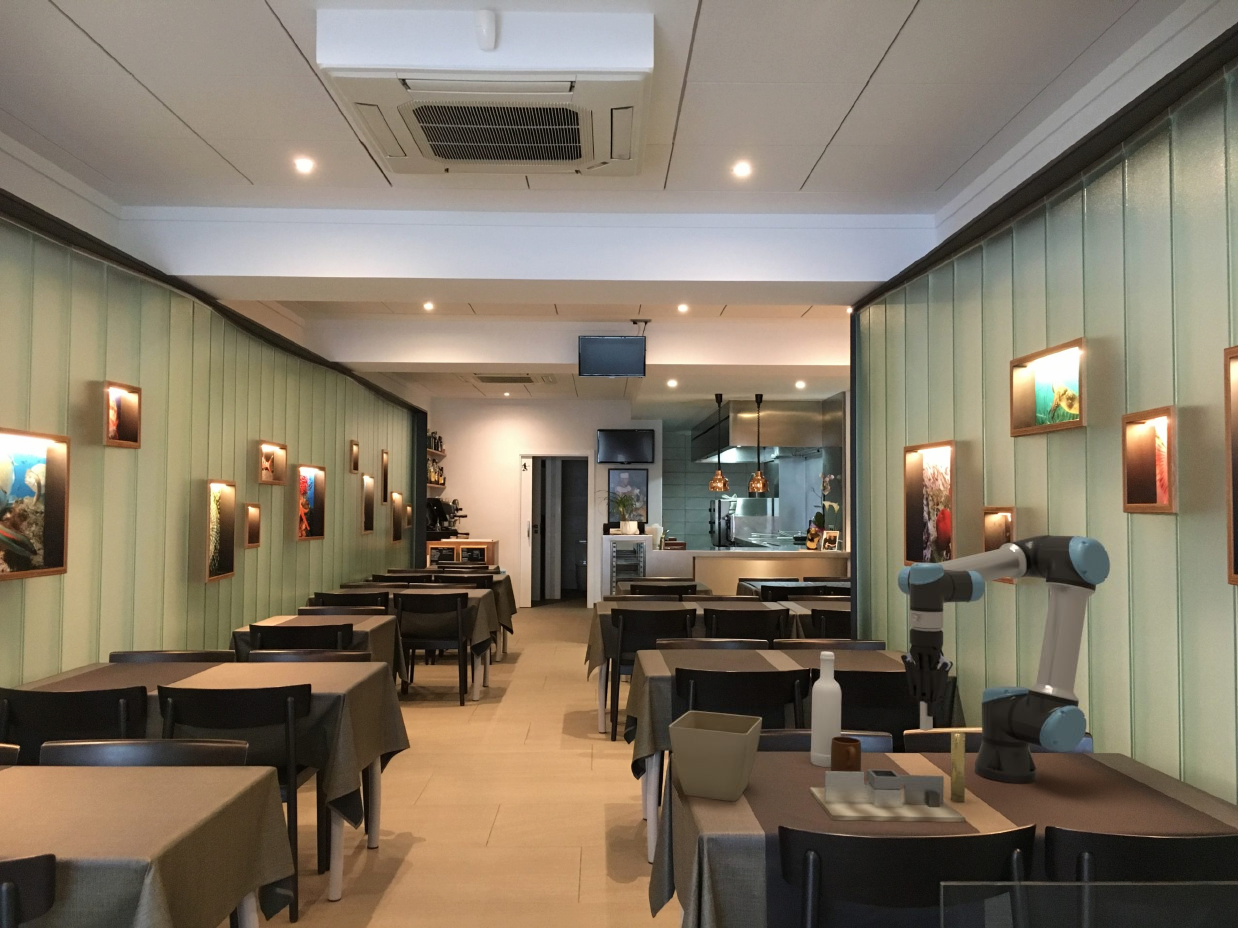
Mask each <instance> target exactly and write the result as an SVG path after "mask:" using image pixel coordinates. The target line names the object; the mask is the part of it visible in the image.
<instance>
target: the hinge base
mask: <svg viewBox="0 0 1238 928" xmlns="http://www.w3.org/2000/svg"><path fill="white" fill-rule="evenodd" d="M824 788H825V803H869V804H872V805H873V806H874V807H882V808H902V790H901V789H902V788H901V789H886V788H874V787H873V786H872V785H871V784H870V783H869V782H868V781H867V780H866V784H865V772H864V771H861V772H846V771H831V770H830V771H829V770H826V771H824ZM939 798H940V794H939V793H937V792H927V806H928V807H939Z"/></svg>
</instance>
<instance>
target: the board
mask: <svg viewBox="0 0 1238 928" xmlns="http://www.w3.org/2000/svg"><path fill="white" fill-rule="evenodd" d="M901 790H902V808H882V807H874V806H873V805H872V804H869V803H825V787H810V788H809V792H810V794H811V795H812V796H813V798H815V800H816V801H817V803H818V804H819V805H820V806H821V807H822V809H823V810H824V811H825V812H826V814H827V815H828V816H829V818H830V819H831V820H832V821H872V822H873V821H877V822H880V821H881V822H882V821H883V822H884V821H885V822H888V821H889V822H933V823H934V822H939V823H940V822H944V823H947V822H948V823H949V822H950V823H966V819H967V818H966V816H965V815H963V814H962V813H961V812H959V811H958V810H957V809H956V808H954V806H952V805H951V804H950V803H949V802H947V801H946V800H945V799H944V804H939V807H928V806H927V804H924V803H904V788H901Z"/></svg>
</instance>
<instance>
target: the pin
mask: <svg viewBox="0 0 1238 928" xmlns="http://www.w3.org/2000/svg"><path fill="white" fill-rule="evenodd" d="M950 737H951V738H950V739H951V740H950V801H951V802H953V803H958V804H963V803H965V802H966V732H961V731H951V733H950Z"/></svg>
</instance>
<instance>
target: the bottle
mask: <svg viewBox="0 0 1238 928" xmlns="http://www.w3.org/2000/svg"><path fill="white" fill-rule="evenodd" d="M819 659H820V665H819V666H820V670H819V672H820V673H819V678H818V679H817V680H816V681H815V682H814V684H813V686H812V690H811V735H810V738H811V742H810V743H811V745H810V747H811V748H810V763H811V764H813V765H814V766H817V767H821V768H831V743H832V738H834V737H842V736H841V735H842V733H841V732H842V731H841V730H842V689H841V686H840V684H839V682H838V681H836V680H835V678H834V677H835V659H836V658H835V653H834V652H832V651H821V652H820V656H819Z"/></svg>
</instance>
